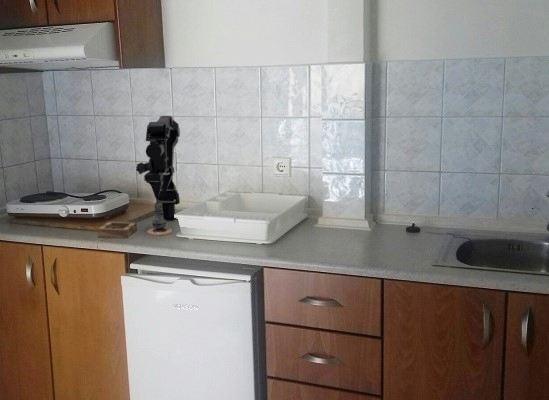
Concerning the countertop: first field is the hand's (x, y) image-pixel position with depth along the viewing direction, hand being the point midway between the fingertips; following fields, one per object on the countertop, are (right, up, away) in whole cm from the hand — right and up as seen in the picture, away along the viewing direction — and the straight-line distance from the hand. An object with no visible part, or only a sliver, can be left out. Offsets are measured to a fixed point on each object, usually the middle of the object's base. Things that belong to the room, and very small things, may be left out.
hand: (160, 195), depth 237 cm
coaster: (0, -14, -3) cm, 14 cm away
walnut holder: (-15, -14, -5) cm, 22 cm away
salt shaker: (0, -14, -3) cm, 14 cm away
